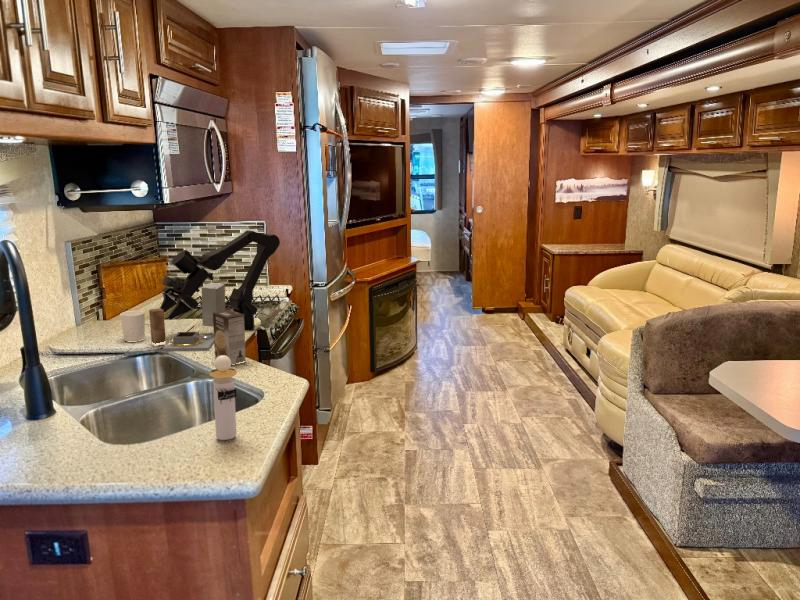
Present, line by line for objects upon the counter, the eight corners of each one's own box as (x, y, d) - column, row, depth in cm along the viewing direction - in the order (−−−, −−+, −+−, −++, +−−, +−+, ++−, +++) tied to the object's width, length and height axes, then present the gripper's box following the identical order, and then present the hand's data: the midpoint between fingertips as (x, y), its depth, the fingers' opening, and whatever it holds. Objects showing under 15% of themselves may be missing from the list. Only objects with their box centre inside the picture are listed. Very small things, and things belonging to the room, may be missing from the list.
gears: (217, 334, 217) (217, 326, 217) (208, 347, 202) (208, 338, 201) (177, 334, 216) (177, 326, 215) (165, 348, 200) (165, 339, 199)
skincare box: (211, 320, 241) (209, 282, 237) (227, 321, 240) (226, 283, 236) (201, 325, 233) (199, 286, 229) (218, 326, 232) (216, 287, 228)
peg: (162, 342, 210) (159, 308, 207) (165, 344, 207) (163, 310, 204) (151, 344, 207) (149, 309, 204) (155, 346, 205) (153, 311, 202)
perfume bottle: (209, 436, 137) (205, 354, 133) (233, 430, 140) (230, 350, 136) (218, 446, 132) (214, 361, 128) (243, 439, 136) (239, 356, 132)
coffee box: (213, 360, 191) (211, 312, 188) (231, 356, 196) (229, 309, 192) (229, 367, 185) (227, 317, 182) (246, 362, 190) (245, 314, 186)
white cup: (150, 337, 215) (148, 311, 213) (139, 343, 208) (137, 316, 205) (130, 336, 216) (127, 310, 214) (117, 342, 208) (115, 315, 206)
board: (218, 336, 219) (218, 333, 219) (208, 350, 201) (208, 347, 201) (176, 336, 217) (176, 333, 217) (162, 351, 200) (162, 348, 199)
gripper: (166, 264, 213) (136, 297, 208) (187, 271, 200) (156, 307, 195) (188, 283, 220) (160, 316, 215) (210, 291, 207) (181, 326, 202)
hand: (164, 316), depth 207 cm, fingers open, 9 cm apart
